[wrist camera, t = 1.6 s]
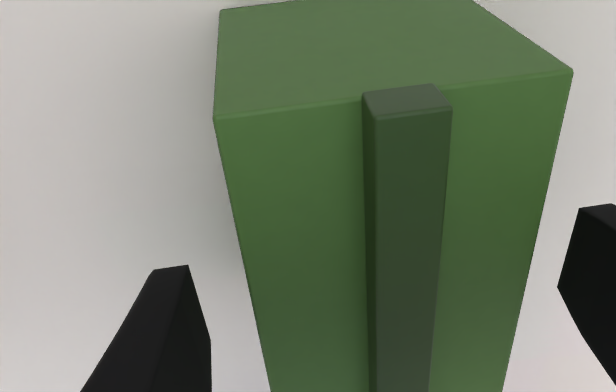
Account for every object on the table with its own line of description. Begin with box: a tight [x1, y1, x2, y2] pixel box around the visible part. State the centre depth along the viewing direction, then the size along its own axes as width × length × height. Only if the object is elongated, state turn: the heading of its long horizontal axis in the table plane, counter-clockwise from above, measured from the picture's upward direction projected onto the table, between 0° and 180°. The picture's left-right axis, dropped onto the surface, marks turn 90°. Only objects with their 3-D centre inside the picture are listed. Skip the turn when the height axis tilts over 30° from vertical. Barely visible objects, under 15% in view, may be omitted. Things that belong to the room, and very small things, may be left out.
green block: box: [213, 0, 573, 392], centre depth 11 cm, size 8×5×6 cm, turn 5°
